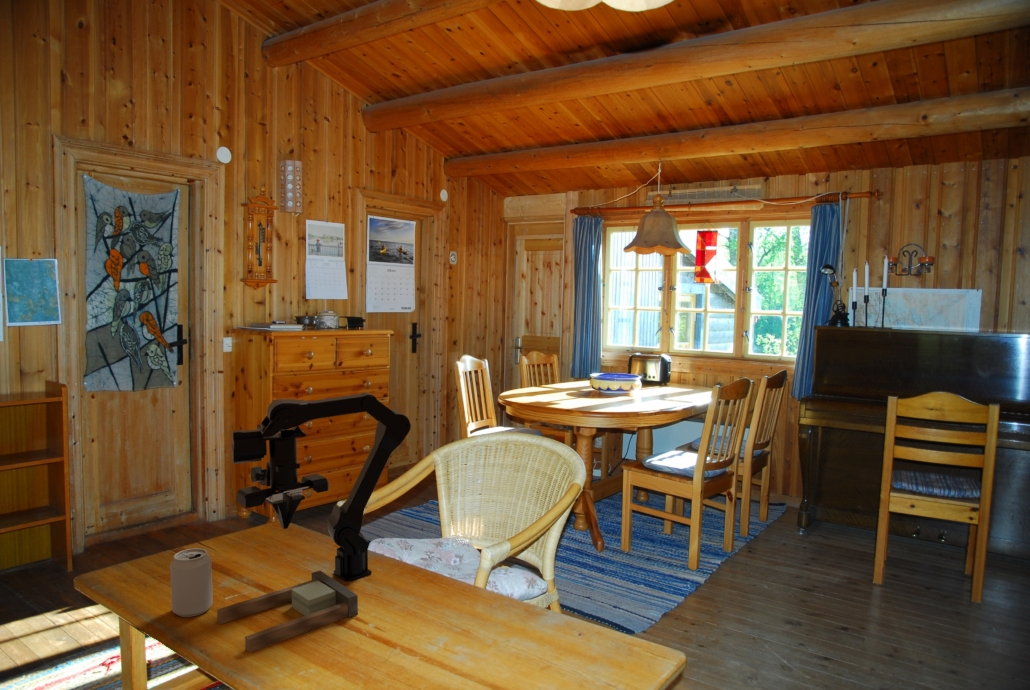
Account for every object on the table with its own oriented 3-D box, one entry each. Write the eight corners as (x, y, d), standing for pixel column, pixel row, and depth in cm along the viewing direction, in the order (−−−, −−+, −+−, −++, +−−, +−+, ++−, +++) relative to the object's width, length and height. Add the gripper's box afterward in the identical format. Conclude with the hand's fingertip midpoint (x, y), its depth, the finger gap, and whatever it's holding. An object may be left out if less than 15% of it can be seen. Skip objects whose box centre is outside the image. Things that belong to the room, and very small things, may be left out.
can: (197, 620, 136) (194, 562, 135) (163, 617, 138) (161, 558, 137) (220, 603, 143) (218, 547, 142) (188, 600, 145) (186, 544, 144)
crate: (318, 598, 147) (318, 580, 146) (336, 609, 142) (335, 590, 141) (291, 608, 142) (291, 589, 142) (309, 619, 137) (308, 600, 137)
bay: (320, 588, 151) (320, 570, 151) (357, 614, 139) (357, 595, 139) (217, 621, 136) (216, 601, 136) (249, 653, 124) (248, 632, 124)
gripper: (306, 444, 161) (308, 509, 163) (225, 458, 149) (227, 528, 150) (329, 453, 153) (330, 522, 155) (245, 468, 141) (247, 543, 142)
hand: (284, 528), depth 151 cm, fingers closed
